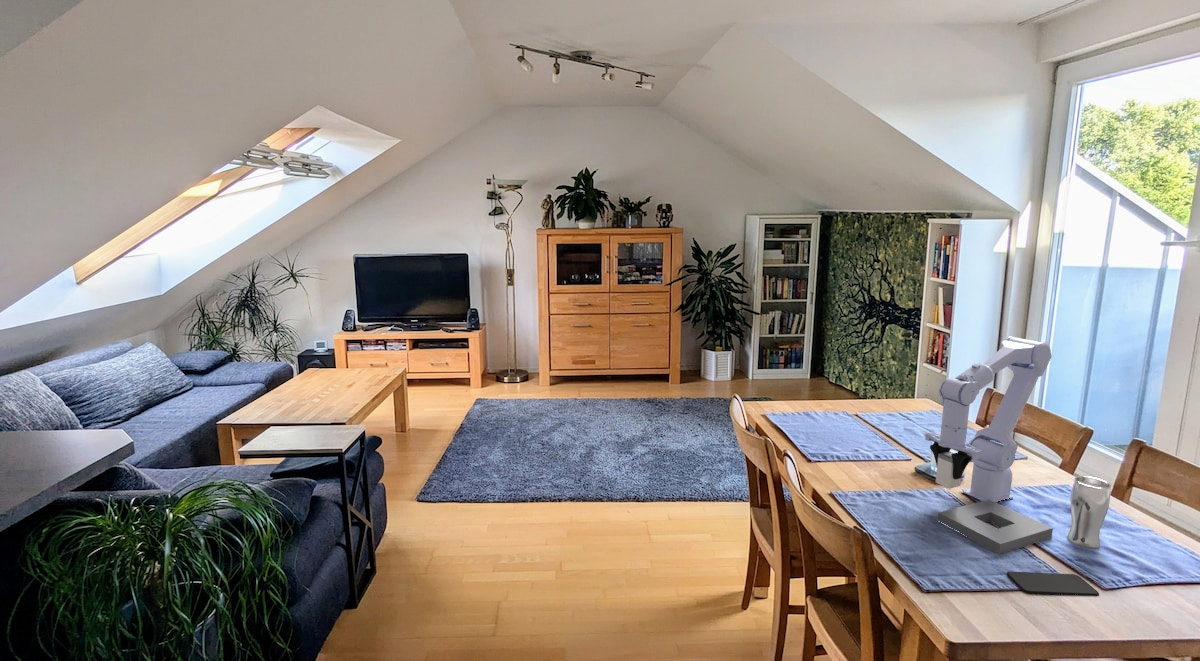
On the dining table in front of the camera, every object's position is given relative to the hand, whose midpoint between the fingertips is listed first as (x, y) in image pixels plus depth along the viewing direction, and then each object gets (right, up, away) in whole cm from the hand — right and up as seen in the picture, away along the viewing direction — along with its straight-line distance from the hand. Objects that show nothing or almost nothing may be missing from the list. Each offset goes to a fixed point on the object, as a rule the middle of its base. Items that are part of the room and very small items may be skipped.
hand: (949, 474), depth 160 cm
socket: (+5, -11, -10) cm, 16 cm away
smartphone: (+3, -16, -32) cm, 36 cm away
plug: (0, -3, 0) cm, 3 cm away
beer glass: (+22, -12, -16) cm, 30 cm away
